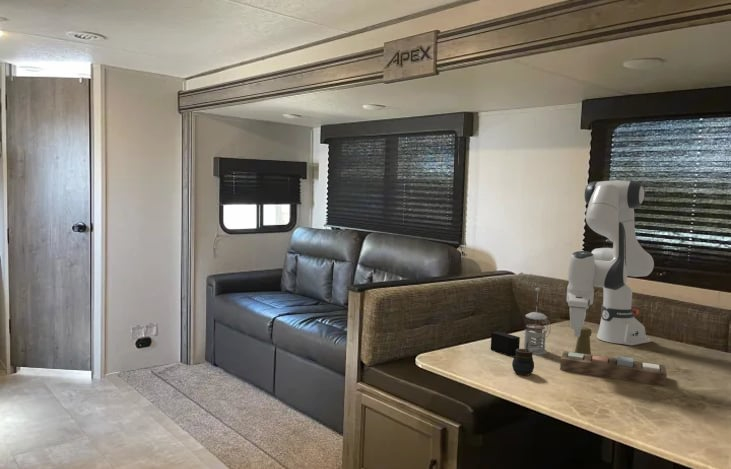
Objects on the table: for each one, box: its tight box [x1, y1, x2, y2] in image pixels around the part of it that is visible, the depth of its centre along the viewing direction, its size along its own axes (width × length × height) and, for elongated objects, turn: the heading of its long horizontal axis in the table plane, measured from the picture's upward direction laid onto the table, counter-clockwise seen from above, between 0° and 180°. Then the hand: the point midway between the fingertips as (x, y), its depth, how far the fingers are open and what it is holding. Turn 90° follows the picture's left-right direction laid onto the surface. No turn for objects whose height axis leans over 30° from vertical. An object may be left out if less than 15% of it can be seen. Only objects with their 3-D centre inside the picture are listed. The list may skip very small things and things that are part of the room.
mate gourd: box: [511, 343, 535, 376], centre depth 196 cm, size 7×8×10 cm
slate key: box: [616, 355, 634, 367], centre depth 198 cm, size 5×5×2 cm
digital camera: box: [490, 330, 521, 357], centre depth 221 cm, size 10×5×7 cm, turn 38°
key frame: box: [559, 350, 668, 387], centre depth 200 cm, size 33×11×4 cm, turn 66°
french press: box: [521, 287, 552, 356], centre depth 224 cm, size 10×12×25 cm
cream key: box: [642, 362, 660, 371], centre depth 195 cm, size 5×5×2 cm
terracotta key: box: [592, 354, 609, 363], centre depth 202 cm, size 5×5×2 cm
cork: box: [574, 326, 592, 355], centre depth 220 cm, size 6×6×11 cm
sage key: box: [568, 351, 584, 360], centre depth 205 cm, size 5×5×2 cm
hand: (577, 336), depth 204 cm, fingers closed
